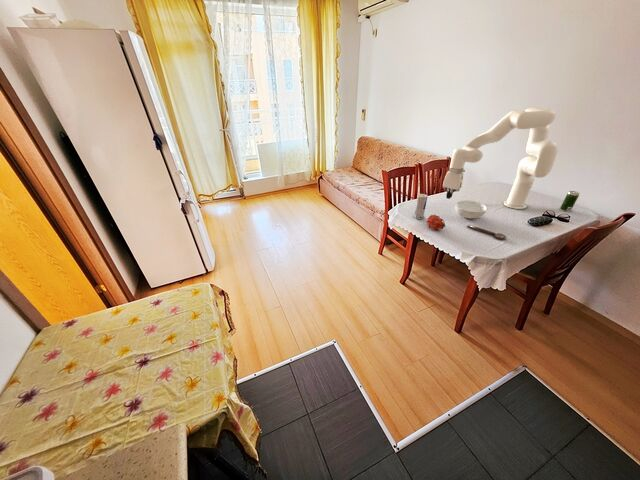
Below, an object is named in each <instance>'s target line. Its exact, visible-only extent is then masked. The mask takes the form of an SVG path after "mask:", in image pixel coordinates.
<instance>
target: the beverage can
mask: <svg viewBox="0 0 640 480" xmlns="http://www.w3.org/2000/svg"><path fill="white" fill-rule="evenodd" d="M427 201H428V195H427V194H425V193H418V194H417V198H416V203H415V209H414V216H413V217H414V218H415V219H419V220H421V219H423V218H425V212H426V206H427Z"/></svg>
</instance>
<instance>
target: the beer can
mask: <svg viewBox="0 0 640 480" xmlns="http://www.w3.org/2000/svg"><path fill="white" fill-rule="evenodd" d="M580 194H581V193H580V192H579V191H575V190H569V191H568V192H567V193H566V196H565V197H564V199H563V201H562V203H561V205H560V207H559V210H560V211H561V212H565V213H570V212H571V211H572V210H573V208H574V206H575V204H576V202H577V200H578V198H579V197H580Z"/></svg>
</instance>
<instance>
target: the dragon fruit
mask: <svg viewBox="0 0 640 480" xmlns="http://www.w3.org/2000/svg"><path fill="white" fill-rule="evenodd" d="M425 223H426V224H428V228H429V229H432V230H434V231H437V232H438V231H440V230H444V229H445V228H446V222H445V221H444V219H443V218H440V215H436V214H431V215H430V216H428V217H427V220H426V221H425Z"/></svg>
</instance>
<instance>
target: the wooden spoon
mask: <svg viewBox="0 0 640 480" xmlns="http://www.w3.org/2000/svg"><path fill="white" fill-rule="evenodd" d="M467 228H469V229H472V230H475V231H478V232H480V233H483V234H484V233H485V234H487V235H490V236H493V237H494V238H495V239H497V240H499V241H505V240H507V239H506V238H507V235H505V234H503V233H500V232H498V233H497V232H495V231H491V230H487V229H485V228H481V227H479V226H475V225H472V224H468V225H467Z"/></svg>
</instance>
